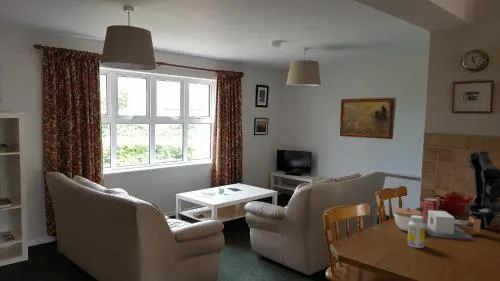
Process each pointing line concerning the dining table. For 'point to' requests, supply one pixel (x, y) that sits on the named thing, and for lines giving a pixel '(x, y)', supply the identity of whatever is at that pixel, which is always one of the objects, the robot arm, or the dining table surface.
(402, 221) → the lidded bowl
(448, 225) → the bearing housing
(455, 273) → the dining table surface
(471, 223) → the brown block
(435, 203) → the soda can
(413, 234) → the supplement bottle
